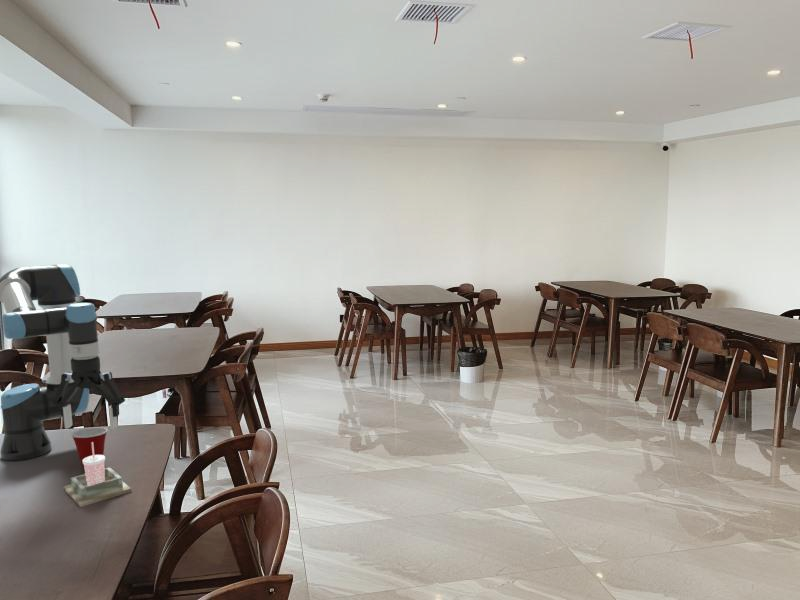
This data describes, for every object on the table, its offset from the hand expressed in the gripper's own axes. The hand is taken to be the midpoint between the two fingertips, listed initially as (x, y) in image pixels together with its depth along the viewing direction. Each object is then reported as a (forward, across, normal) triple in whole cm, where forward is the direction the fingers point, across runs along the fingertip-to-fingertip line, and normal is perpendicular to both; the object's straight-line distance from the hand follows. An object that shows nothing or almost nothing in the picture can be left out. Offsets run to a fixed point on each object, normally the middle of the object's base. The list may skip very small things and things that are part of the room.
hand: (91, 427), depth 181 cm
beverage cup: (+19, 0, 0) cm, 19 cm away
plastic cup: (+20, -11, +18) cm, 29 cm away
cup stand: (+20, 0, 0) cm, 20 cm away
